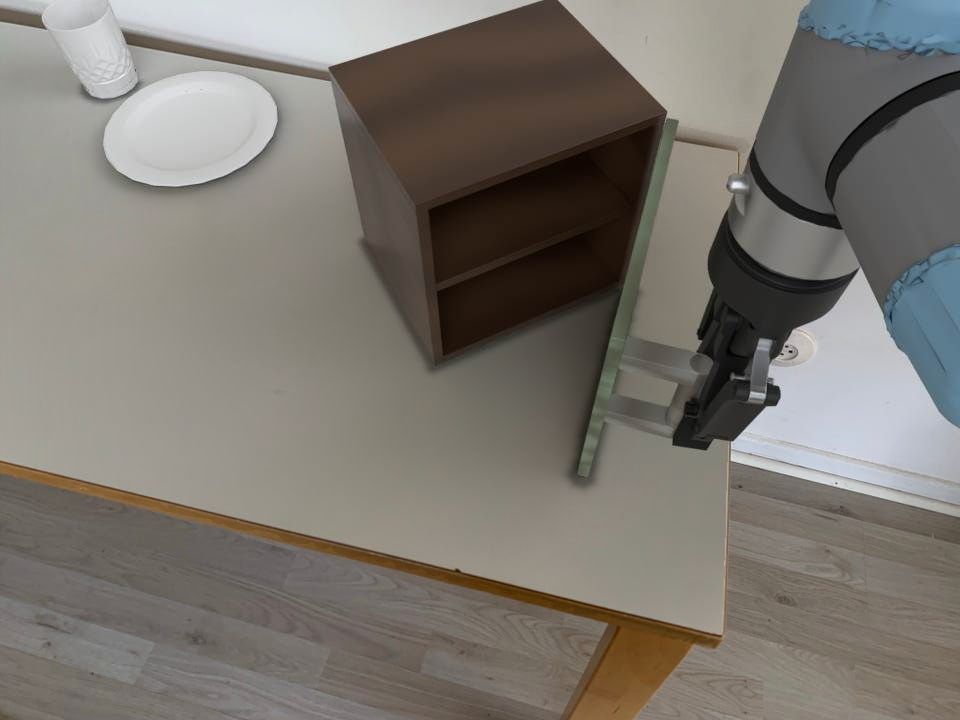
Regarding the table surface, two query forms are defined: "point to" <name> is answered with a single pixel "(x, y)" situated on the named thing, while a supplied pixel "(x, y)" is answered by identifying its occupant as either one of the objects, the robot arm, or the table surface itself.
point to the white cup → (92, 45)
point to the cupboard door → (644, 343)
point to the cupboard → (497, 171)
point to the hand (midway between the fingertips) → (690, 429)
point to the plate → (190, 129)
